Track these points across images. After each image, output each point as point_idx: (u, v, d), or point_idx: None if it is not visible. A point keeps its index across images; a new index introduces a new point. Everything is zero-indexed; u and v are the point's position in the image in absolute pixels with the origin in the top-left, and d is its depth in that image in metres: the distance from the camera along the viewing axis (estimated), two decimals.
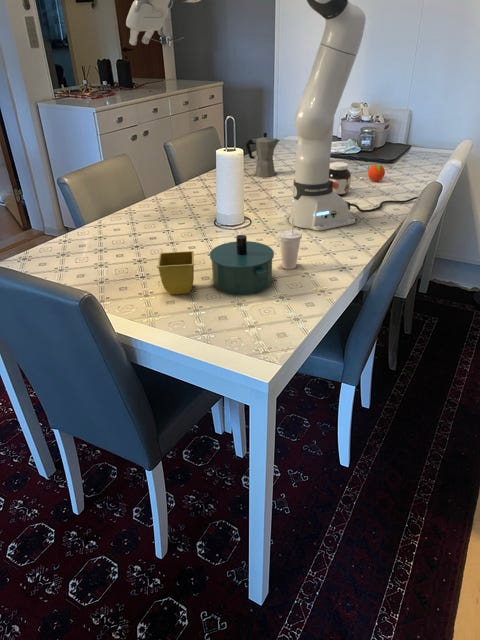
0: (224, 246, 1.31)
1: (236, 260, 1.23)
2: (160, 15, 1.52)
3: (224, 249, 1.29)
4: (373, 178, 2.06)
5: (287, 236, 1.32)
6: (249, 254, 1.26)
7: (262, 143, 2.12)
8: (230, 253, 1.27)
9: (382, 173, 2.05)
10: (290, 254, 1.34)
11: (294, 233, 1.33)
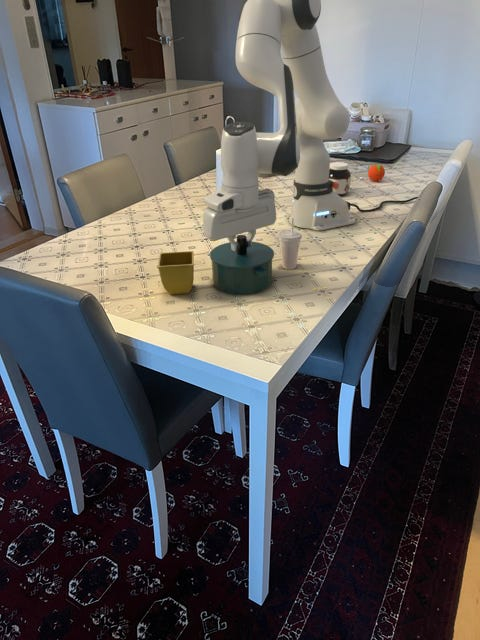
0: (224, 246, 1.31)
1: (236, 260, 1.23)
2: None
3: (224, 249, 1.29)
4: (373, 178, 2.06)
5: (287, 236, 1.32)
6: (249, 254, 1.26)
7: None
8: (230, 253, 1.27)
9: (382, 173, 2.05)
10: (290, 254, 1.34)
11: (294, 233, 1.33)
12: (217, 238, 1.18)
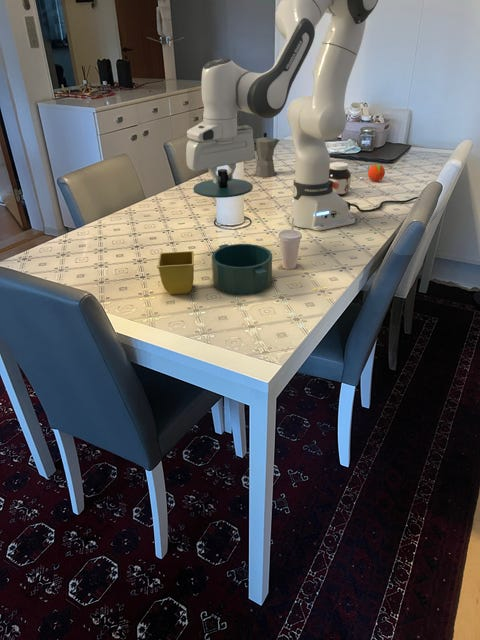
0: (207, 182, 1.41)
1: (217, 191, 1.33)
2: None
3: (207, 184, 1.39)
4: (373, 178, 2.06)
5: (287, 236, 1.32)
6: (229, 187, 1.36)
7: (262, 143, 2.12)
8: (212, 186, 1.37)
9: (382, 173, 2.05)
10: (290, 254, 1.34)
11: (294, 233, 1.33)
12: (199, 168, 1.28)
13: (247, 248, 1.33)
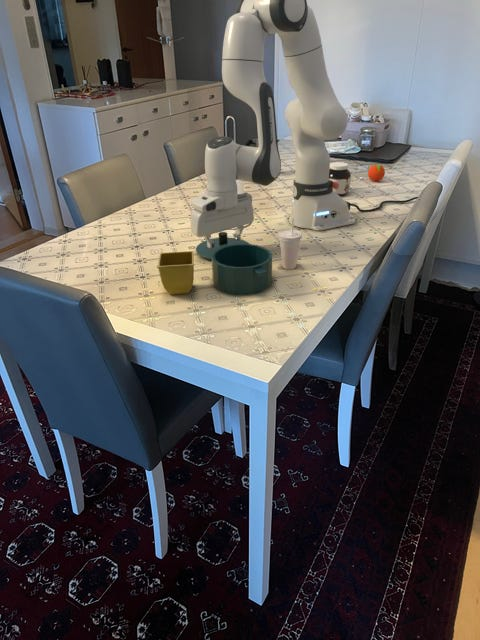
0: None
1: None
2: None
3: None
4: (373, 178, 2.06)
5: (287, 236, 1.32)
6: None
7: None
8: (213, 247, 1.48)
9: (382, 173, 2.05)
10: (290, 254, 1.34)
11: (294, 233, 1.33)
12: (202, 235, 1.39)
13: (247, 248, 1.33)
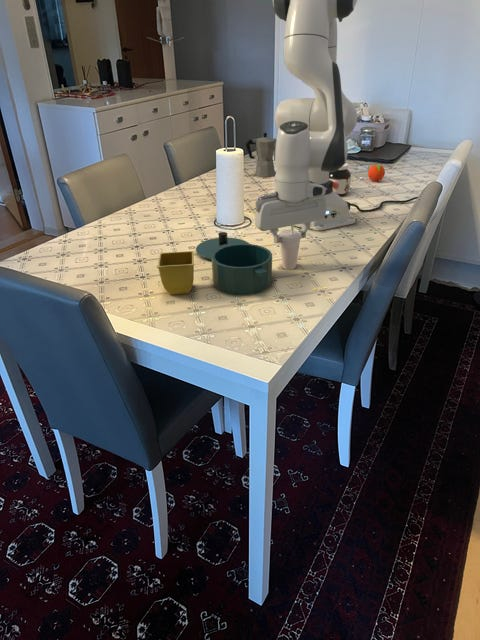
0: (209, 242, 1.52)
1: None
2: (313, 205, 1.30)
3: (208, 244, 1.50)
4: (373, 178, 2.06)
5: (287, 236, 1.32)
6: None
7: (262, 143, 2.12)
8: (213, 247, 1.48)
9: (382, 173, 2.05)
10: (290, 254, 1.34)
11: (294, 233, 1.33)
12: None
13: (247, 248, 1.33)
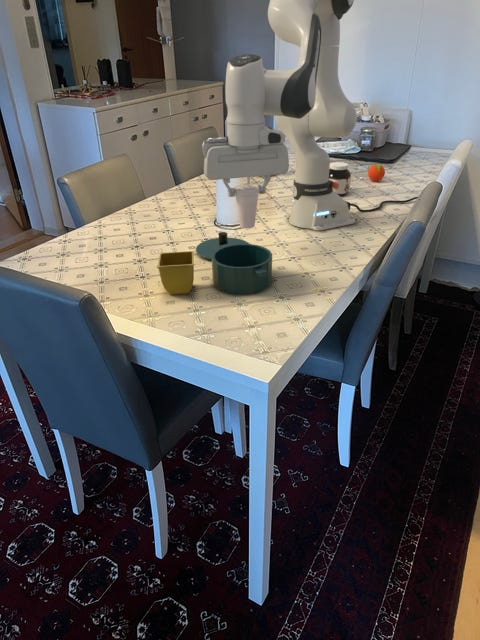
0: (209, 242, 1.52)
1: None
2: (272, 155, 1.15)
3: (208, 244, 1.50)
4: (373, 178, 2.06)
5: (241, 189, 1.18)
6: None
7: None
8: (213, 247, 1.48)
9: (382, 173, 2.05)
10: (245, 210, 1.19)
11: (251, 187, 1.18)
12: None
13: (247, 248, 1.33)
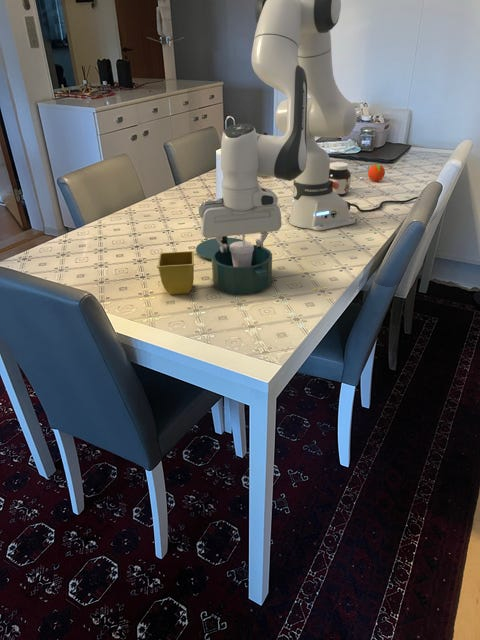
0: (209, 242, 1.52)
1: None
2: (266, 214, 1.21)
3: (208, 244, 1.50)
4: (373, 178, 2.06)
5: (237, 248, 1.24)
6: None
7: None
8: (213, 247, 1.48)
9: (382, 173, 2.05)
10: None
11: (246, 245, 1.25)
12: None
13: None
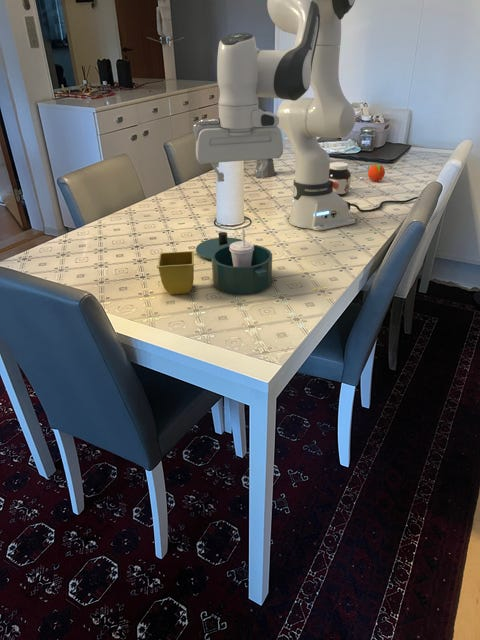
0: (209, 242, 1.52)
1: None
2: (266, 138, 1.12)
3: (208, 244, 1.50)
4: (373, 178, 2.06)
5: (237, 248, 1.24)
6: None
7: None
8: (213, 247, 1.48)
9: (382, 173, 2.05)
10: None
11: (246, 245, 1.25)
12: None
13: None
